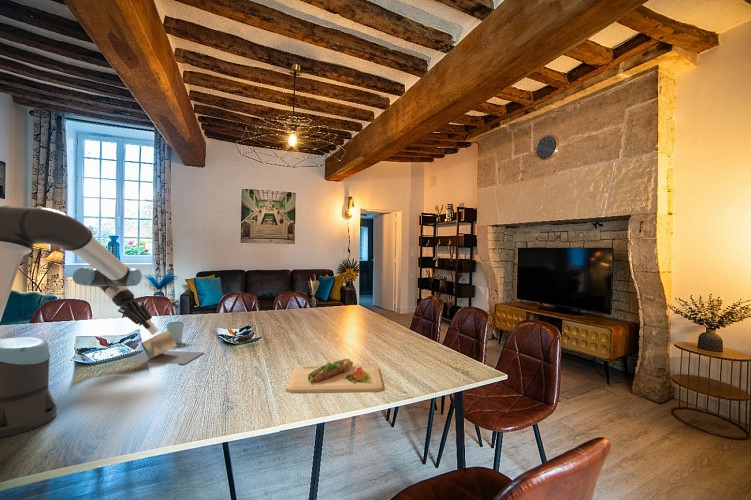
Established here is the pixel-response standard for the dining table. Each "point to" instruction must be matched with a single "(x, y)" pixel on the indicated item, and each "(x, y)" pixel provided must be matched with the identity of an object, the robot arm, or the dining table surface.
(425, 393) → the dining table surface
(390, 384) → the dining table surface
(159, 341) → the maple cube
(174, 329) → the cup
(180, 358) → the rubber mat
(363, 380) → the cutting board
